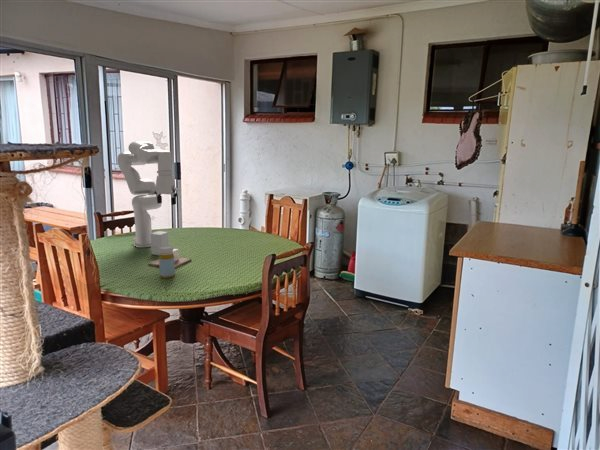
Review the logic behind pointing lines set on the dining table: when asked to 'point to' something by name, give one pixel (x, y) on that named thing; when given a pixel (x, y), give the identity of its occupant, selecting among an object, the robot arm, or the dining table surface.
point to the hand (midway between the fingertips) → (166, 203)
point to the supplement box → (158, 241)
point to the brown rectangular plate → (176, 263)
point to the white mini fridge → (176, 254)
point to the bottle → (166, 262)
